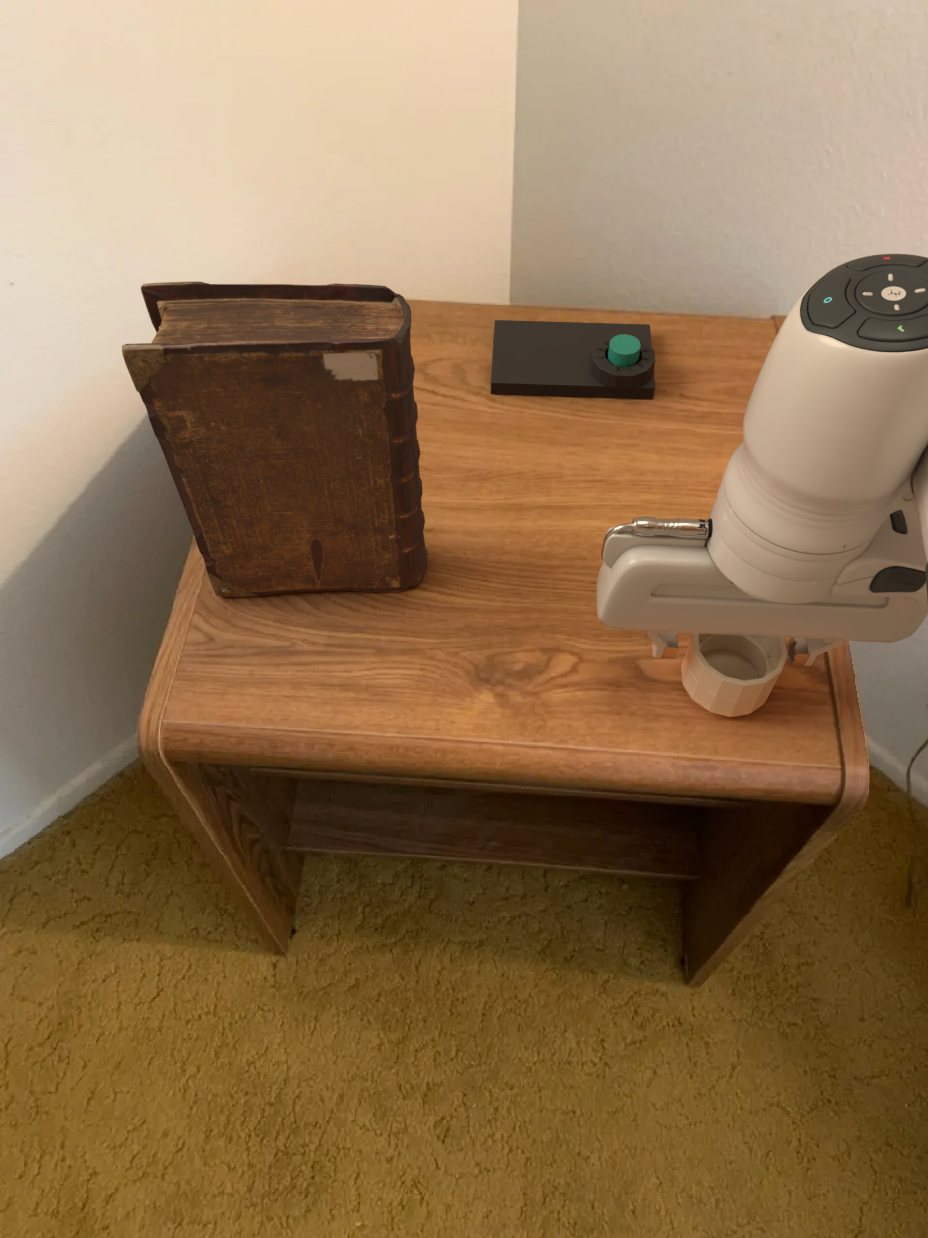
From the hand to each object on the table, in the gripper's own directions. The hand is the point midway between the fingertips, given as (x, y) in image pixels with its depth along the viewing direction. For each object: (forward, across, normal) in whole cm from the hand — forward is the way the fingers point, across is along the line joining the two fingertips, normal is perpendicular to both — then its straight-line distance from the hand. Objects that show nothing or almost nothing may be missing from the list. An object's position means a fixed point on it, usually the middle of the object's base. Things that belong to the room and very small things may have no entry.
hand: (729, 653), depth 65 cm
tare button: (+1, -6, +33) cm, 33 cm away
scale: (+4, -10, +35) cm, 36 cm away
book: (+4, -30, +9) cm, 32 cm away
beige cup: (+4, 0, 0) cm, 4 cm away
